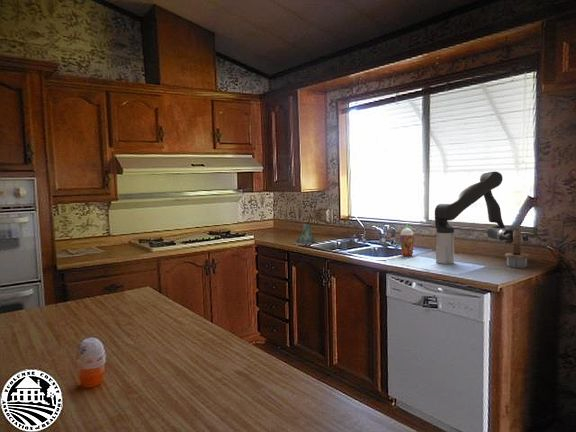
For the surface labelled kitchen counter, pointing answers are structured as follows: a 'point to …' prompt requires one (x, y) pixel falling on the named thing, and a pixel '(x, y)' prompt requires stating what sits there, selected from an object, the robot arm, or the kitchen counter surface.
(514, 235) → the wooden post stand
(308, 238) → the tree stump
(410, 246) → the smoothie
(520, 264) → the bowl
